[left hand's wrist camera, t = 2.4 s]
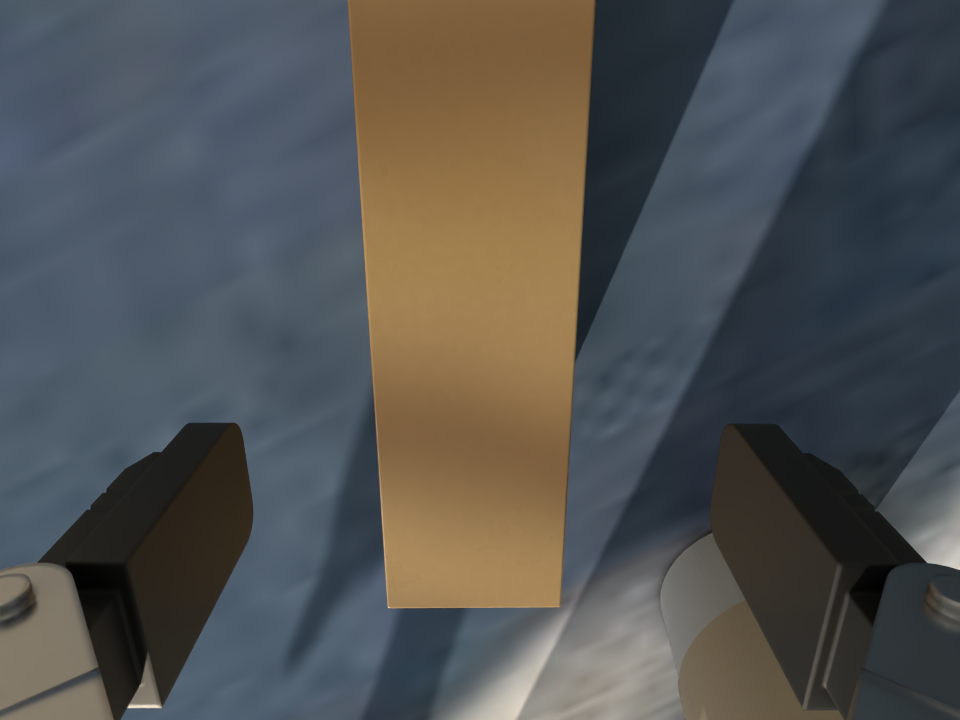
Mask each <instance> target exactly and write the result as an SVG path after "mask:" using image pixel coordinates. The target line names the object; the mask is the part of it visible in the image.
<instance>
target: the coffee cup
mask: <svg viewBox="0 0 960 720" xmlns="http://www.w3.org/2000/svg"><path fill="white" fill-rule="evenodd" d="M660 606H661V611H662V615H663V619H664V623H665V627H666V631H667V634H668V638H669V642H670V646H671V650H672V654H673V658H674V661H675V665H676V669H677V673H678V677H679V680H678V686H679V694H680V698H681V702H682V706H683V710H684V714H685V718H686V720H844V719H843V717H842V716H841V714H840V712H839V711H838V710H803V709H802V707H801V705H800V703H799V701H798V699H797V697H796V696H795V694H794V692H793V690H792V688H791V686H790V684H789V682H788V680H787V678H786V676H785V675H784V673H783V671H782V669H781V667H780V665H779V663H778V661H777V659H776V657H775V655H774V653H773V652H772V650H771V648H770V646H769V644H768V642H767V640H766V638H765V636H764V634H763V632H762V630H761V629H760V627H759V625H758V623H757V621H756V619H755V617H754V615H753V613H752V611H751V609H750V608H749V606H748V604H747V602H746V600H745V598H744V596H743V594H742V592H741V590H740V588H739V586H738V585H737V583H736V581H735V579H734V577H733V575H732V573H731V571H730V569H729V567H728V565H727V563H726V562H725V560H724V558H723V556H722V554H721V552H720V550H719V548H718V546H717V544H716V542H715V539H714V536H713V533H711V534H709V535H707V536H705V537H703V538H701V539H700V540H698V541H697V542H695V543H694V544H692V545H691V546H690V547H688V548H687V549H686V550H685V551H684V552H683V553H682V554H681V555H680V556H679V557H678V558H677V559H676V560H675V562H674V563H673V564H672V566H671V567H670V569H669V570H668V572H667V574H666V576H665V578H664V581H663V584H662V588H661V593H660Z"/></svg>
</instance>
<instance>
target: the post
mask: <svg viewBox="0 0 960 720" xmlns="http://www.w3.org/2000/svg"><path fill="white" fill-rule="evenodd" d="M595 8H596V0H348V13H349V28H350V43H351V59H352V74H353V89H354V104H355V120H356V135H357V150H358V165H359V180H360V196H361V211H362V226H363V241H364V256H365V272H366V287H367V302H368V317H369V333H370V348H371V363H372V378H373V393H374V409H375V424H376V439H377V454H378V469H379V485H380V500H381V515H382V530H383V546H384V561H385V576H386V591H387V606H388V608H476V607H560V605H561V593H562V576H563V559H564V541H565V524H566V507H567V490H568V473H569V455H570V438H571V421H572V404H573V387H574V369H575V352H576V335H577V318H578V301H579V283H580V266H581V249H582V232H583V215H584V197H585V180H586V163H587V146H588V129H589V111H590V94H591V77H592V60H593V43H594V25H595Z"/></svg>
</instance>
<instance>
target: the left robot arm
mask: <svg viewBox="0 0 960 720" xmlns="http://www.w3.org/2000/svg"><path fill="white" fill-rule="evenodd" d="M710 519H711V528H712V533H713V536H714V539H715V542H716V544H717V546H718V548H719V550H720V552H721V554H722V556H723V558H724V560H725V562H726V563H727V565H728V567H729V569H730V571H731V573H732V575H733V577H734V579H735V581H736V583H737V585H738V586H739V588H740V590H741V592H742V594H743V596H744V598H745V600H746V602H747V604H748V606H749V608H750V609H751V611H752V613H753V615H754V617H755V619H756V621H757V623H758V625H759V627H760V629H761V630H762V632H763V634H764V636H765V638H766V640H767V642H768V644H769V646H770V648H771V650H772V652H773V653H774V655H775V657H776V659H777V661H778V663H779V665H780V667H781V669H782V671H783V673H784V675H785V676H786V678H787V680H788V682H789V684H790V686H791V688H792V690H793V692H794V694H795V696H796V697H797V699H798V701H799V703H800V705H801V707H802V709H803V710H838V711H839V712H840V714H841V716H842V717H843V719H844V720H960V570H957V569H954V568H951V567H947V566H942V565H938V564H930V563H927V562H926V561H925V560H924V559H923V558H922V557H921V556H920V555H919V554H918V553H917V552H916V551H915V550H914V549H913V548H912V547H911V545H910V544H909V543H908V542H907V541H906V540H905V539H904V538H903V537H902V536H901V535H900V534H899V533H898V532H897V531H896V530H895V529H894V528H893V526H892V525H891V524H890V523H889V522H888V521H887V520H886V519H885V518H884V517H883V516H882V515H881V514H880V513H879V512H878V511H874V506H873V505H872V504H871V503H870V502H869V501H868V500H867V499H866V498H865V497H864V496H863V495H862V494H858V490H857V489H856V487H855V486H854V485H853V484H852V483H851V482H850V481H849V480H848V479H847V478H846V477H845V476H844V475H843V474H842V473H841V472H840V471H839V470H838V469H836V468H834V467H833V466H831V465H829V464H827V463H826V462H824V461H822V460H821V459H819V458H817V457H816V456H814V455H812V454H810V453H802V452H801V451H800V450H799V448H798V447H797V446H796V445H795V444H794V443H793V442H792V441H791V440H790V438H789V437H788V436H787V435H786V434H785V433H784V432H783V431H782V429H781V428H780V427H779V426H778V425H776V424H728V425H726V426H725V428H724V430H723V432H722V435H721V440H720V447H719V453H718V460H717V466H716V473H715V479H714V486H713V492H712V499H711V507H710ZM252 522H253V501H252V495H251V488H250V481H249V475H248V468H247V462H246V455H245V448H244V442H243V436H242V432H241V429H240V427H239V426H238V425H237V424H236V423H188V424H186V425H185V426H184V427H183V428H182V430H181V431H180V432H179V433H178V434H177V435H176V436H175V437H174V439H173V440H172V441H171V442H170V443H169V444H168V445H167V447H166V448H165V449H164V450H163V451H162V452H153V453H152V454H150V455H148V456H147V457H145V458H143V459H142V460H140V461H138V462H136V463H135V464H133V465H131V466H130V467H128V468H126V469H125V470H124V471H123V472H122V473H121V474H120V475H119V476H118V477H117V478H116V479H115V480H114V481H113V483H112V484H111V485H110V486H109V487H108V488H107V491H106V493H102V494H101V495H100V496H99V497H98V499H97V500H96V501H95V502H94V503H93V504H92V505H91V509H90V510H86V511H85V512H84V513H83V514H82V516H81V517H80V518H79V519H78V520H77V521H76V522H75V523H74V524H73V525H72V526H71V527H70V528H69V529H68V530H67V531H66V533H65V534H64V535H63V536H62V537H61V538H60V539H59V540H58V541H57V542H56V543H55V544H54V545H53V546H52V547H51V549H50V550H49V551H48V552H47V553H46V554H45V555H44V556H43V557H42V558H41V559H40V560H39V561H38V562H37V563H30V564H22V565H18V566H13V567H9V568H6V569H3V570H0V720H121V718H122V716H123V714H124V713H125V711H126V709H127V708H162V707H163V705H164V703H165V701H166V699H167V697H168V695H169V693H170V691H171V689H172V687H173V686H174V684H175V682H176V680H177V678H178V676H179V674H180V672H181V670H182V668H183V666H184V664H185V662H186V660H187V658H188V656H189V655H190V653H191V651H192V649H193V647H194V645H195V643H196V641H197V639H198V637H199V635H200V633H201V631H202V629H203V627H204V625H205V624H206V622H207V620H208V618H209V616H210V614H211V612H212V610H213V608H214V606H215V604H216V602H217V600H218V598H219V596H220V594H221V593H222V591H223V589H224V587H225V585H226V583H227V581H228V579H229V577H230V575H231V573H232V571H233V569H234V567H235V565H236V563H237V562H238V560H239V558H240V556H241V554H242V552H243V550H244V548H245V546H246V544H247V542H248V540H249V537H250V533H251V529H252Z"/></svg>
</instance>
